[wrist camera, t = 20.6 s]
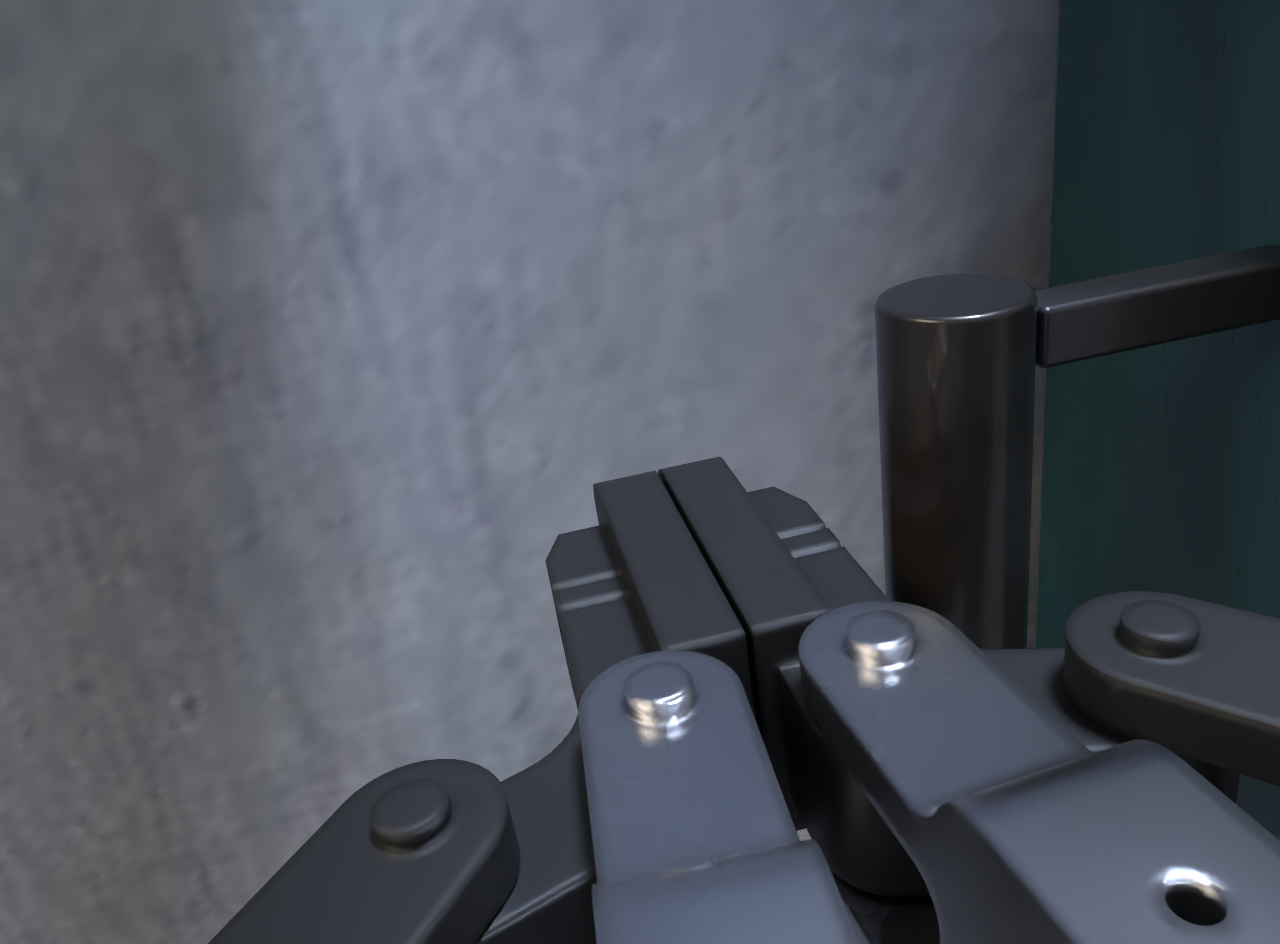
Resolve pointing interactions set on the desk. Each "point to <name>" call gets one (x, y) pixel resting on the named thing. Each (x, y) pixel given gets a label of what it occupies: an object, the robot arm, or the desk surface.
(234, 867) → the desk surface
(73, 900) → the desk surface
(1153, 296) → the drawer
